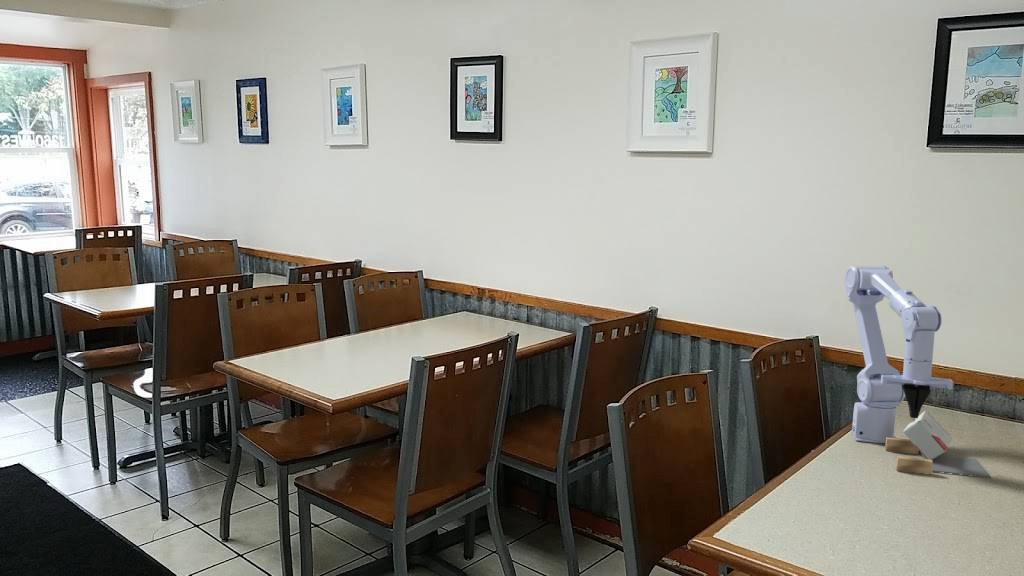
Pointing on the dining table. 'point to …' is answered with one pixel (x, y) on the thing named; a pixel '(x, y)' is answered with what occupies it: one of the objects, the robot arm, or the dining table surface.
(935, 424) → the ink box
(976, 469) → the rubber mat
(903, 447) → the rail bay
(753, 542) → the dining table surface
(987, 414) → the dining table surface
